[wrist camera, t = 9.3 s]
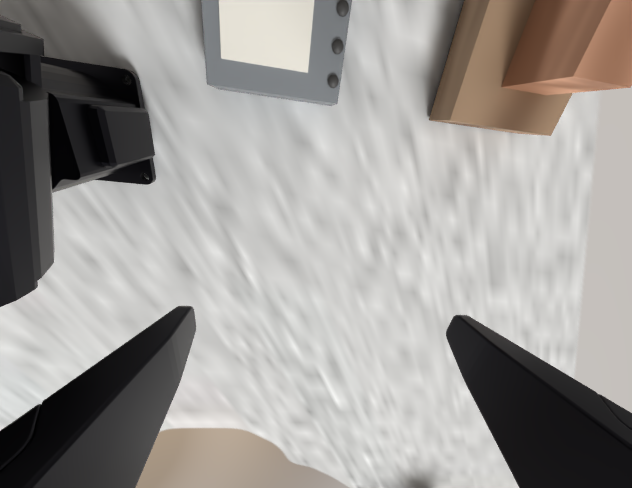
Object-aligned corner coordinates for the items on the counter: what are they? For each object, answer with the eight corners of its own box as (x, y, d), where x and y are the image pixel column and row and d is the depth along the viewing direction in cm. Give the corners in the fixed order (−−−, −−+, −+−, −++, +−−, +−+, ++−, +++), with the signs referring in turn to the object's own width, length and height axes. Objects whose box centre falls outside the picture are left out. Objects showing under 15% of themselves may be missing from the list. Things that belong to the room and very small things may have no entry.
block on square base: (428, 120, 17) (501, 121, 11) (477, -45, 13) (624, -174, 7) (518, 133, 18) (628, 140, 12) (586, -18, 14) (791, -112, 8)
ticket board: (219, 89, 15) (206, 83, 13) (210, -111, 11) (189, -169, 9) (330, 105, 16) (337, 103, 14) (354, -74, 12) (369, -118, 10)
